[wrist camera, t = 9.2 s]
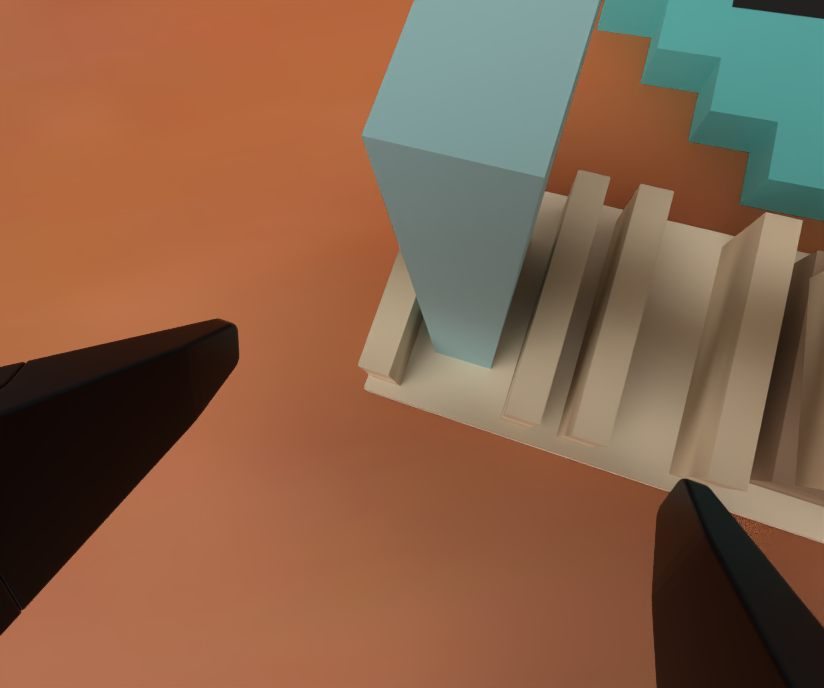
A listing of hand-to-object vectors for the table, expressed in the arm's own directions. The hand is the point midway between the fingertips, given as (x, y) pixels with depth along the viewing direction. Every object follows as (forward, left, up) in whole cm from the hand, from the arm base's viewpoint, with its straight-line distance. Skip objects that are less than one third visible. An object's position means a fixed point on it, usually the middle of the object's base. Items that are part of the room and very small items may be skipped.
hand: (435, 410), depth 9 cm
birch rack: (+6, -5, -8) cm, 11 cm away
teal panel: (+5, +1, -7) cm, 9 cm away
